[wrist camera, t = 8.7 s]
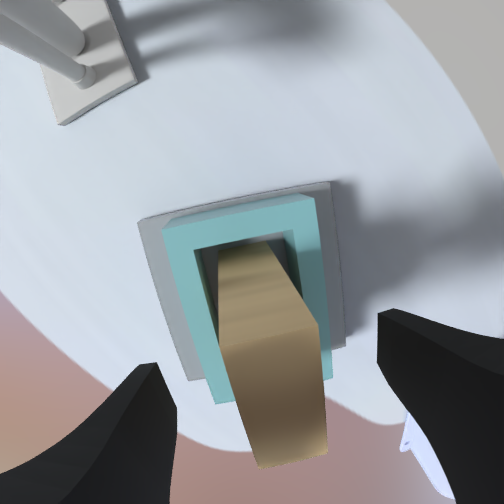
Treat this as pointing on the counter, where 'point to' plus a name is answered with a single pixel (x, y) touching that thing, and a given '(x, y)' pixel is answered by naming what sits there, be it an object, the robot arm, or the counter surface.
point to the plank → (271, 356)
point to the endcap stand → (237, 234)
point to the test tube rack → (69, 50)
